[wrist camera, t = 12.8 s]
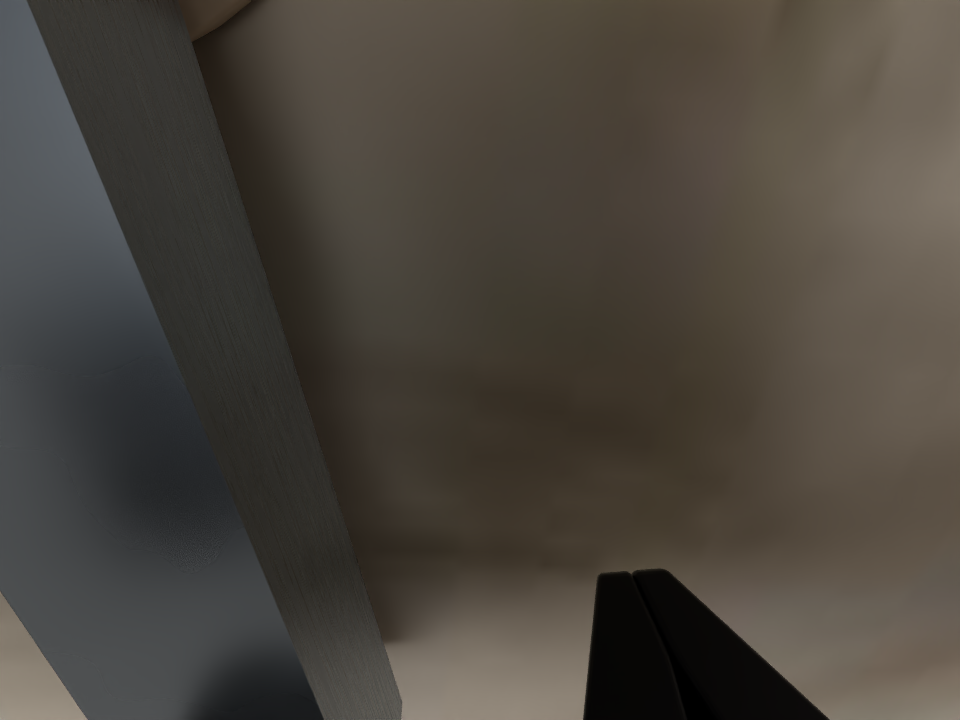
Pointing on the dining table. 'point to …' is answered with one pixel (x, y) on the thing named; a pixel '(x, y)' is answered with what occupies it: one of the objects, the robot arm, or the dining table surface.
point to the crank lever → (157, 399)
